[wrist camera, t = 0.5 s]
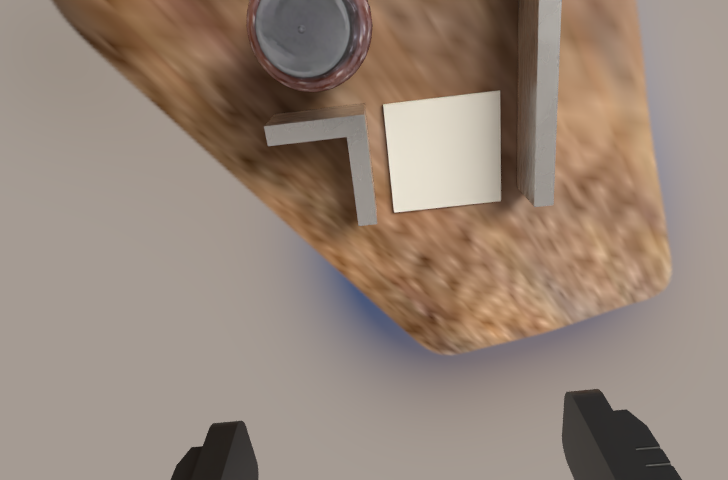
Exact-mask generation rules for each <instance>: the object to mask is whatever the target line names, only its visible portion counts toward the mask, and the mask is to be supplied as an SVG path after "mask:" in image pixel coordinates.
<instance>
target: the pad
mask: <svg viewBox="0 0 728 480" xmlns="http://www.w3.org/2000/svg"><path fill="white" fill-rule="evenodd" d="M383 108H384V118H385V128H386V138H387V148H388V158H389V167H390V177H391V187H392V197H393V207H394V213H395V212H404V211H414V210H423V209H432V208H441V207H450V206H460V205H469V204H478V203H487V202H497V201H501V123H500V90H497V91H488V92H480V93H472V94H463V95H455V96H447V97H438V98H430V99H422V100H414V101H405V102H397V103H389V104H383Z"/></svg>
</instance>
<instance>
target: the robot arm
mask: <svg viewBox="0 0 728 480" xmlns="http://www.w3.org/2000/svg"><path fill="white" fill-rule="evenodd" d="M562 443H563V449H564V453H565V457H566V460H567V463H568V465H569V468H570V470H571V472H572V475H573V477H574V479H575V480H682V479H681V478H680V476H679V475H678V473H677V471H676V470H675V468H674V467H673V466H671V464H670V461H669V459H668V458H667V456H666V454H665V453H664V451H663V450H662V449H660V446H659V444H658V442H657V441H656V439H655V438H654V436H653V435H652V433H651V431H650V430H649V428H648V427H647V426H646V425H645V424H644V423H643V422H642V421H640V420H639V419H638V418H637V417H635V416H634V415H632V414H631V413H630V412H629V411H628V410H616V411H613V410H612V408H611V406H610V405H609V403H608V401H607V400H606V398H605V396H604V395H603V393H602V392H601V391H600V390H599V389H593V390H583V391H571V392H566V394H565V398H564V414H563V430H562ZM171 480H258V465H257V461H256V457H255V454H254V451H253V448H252V444H251V441H250V438H249V435H248V432H247V428H246V426H245V423H244V422H243V421H235V422H223V423H213V424H212V425H211V427H210V428H209V431H208V433H207V436H206V439H205V442H204V444H203V446H202V447H192V448H191V449H190V450H189V451H188V452H187V454H186V455H185V456H184V457H183V458H182V460H181V461H180V462H179V463H178V464H177V466H176V468H175V470H174V473H173V475H172V478H171Z"/></svg>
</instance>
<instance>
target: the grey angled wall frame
mask: <svg viewBox="0 0 728 480" xmlns="http://www.w3.org/2000/svg"><path fill="white" fill-rule="evenodd" d="M561 2H562V0H518V125H517V188H518V189H519V190H520V191H521V192H522V193H523V195H524V196H525V197H526V198H527V199H528V200H529V202H530V203H531V204H532V205H533V206H534V207H540V206H549V205H553V204H554V179H555V154H556V128H557V103H558V78H559V53H560V27H561ZM264 129H265V134H266V139H267V144H268V146H275V145H283V144H292V143H300V142H309V141H317V140H326V139H334V138H343V137H347V142H348V150H349V157H350V165H351V172H352V180H353V187H354V195H355V202H356V210H357V217H358V225H359V226H363V225H372V224H377V210H376V197H375V188H374V179H373V171H372V162H371V153H370V145H369V136H368V128H367V119H366V110H365V103H363V104H354V105H346V106H338V107H330V108H321V109H313V110H305V111H297V112H288V113H280V114H275V115H274V116H273V117H272V118H271V119H270V120H269V121H268V123H267V124H266V125H265V126H264Z"/></svg>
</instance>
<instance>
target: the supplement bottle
mask: <svg viewBox="0 0 728 480" xmlns="http://www.w3.org/2000/svg"><path fill="white" fill-rule="evenodd" d="M247 32H248V37H249V41H250V44H251V47H252V50H253V52H254V54H255V56H256V58H257V60H258V61H259V63H260V64H261V66H262V67H263V68H264V69H265V70H266V71H267V72H268V73H269V75H270V76H272V77H273V78H274V79H276V80H277V81H278V82H280V83H282V84H283V85H285V86H287V87H290V88H292V89H296V90H299V91H305V92H318V91H324V90H329V89H332V88H334V87H336V86H338V85H340V84H342V83H344V82H345V81H346V80H348V79H349V78H350V77H351V76H352V75H353V74H354V73H355V72H356V71H357V70H358V69H359V67H360V66H361V64H362V63H363V61H364V59H365V57H366V55H367V52H368V50H369V47H370V43H371V38H372V37H371V36H372V18H371V12H370V6H369V4H368V0H250V1H249V5H248V10H247Z"/></svg>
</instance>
